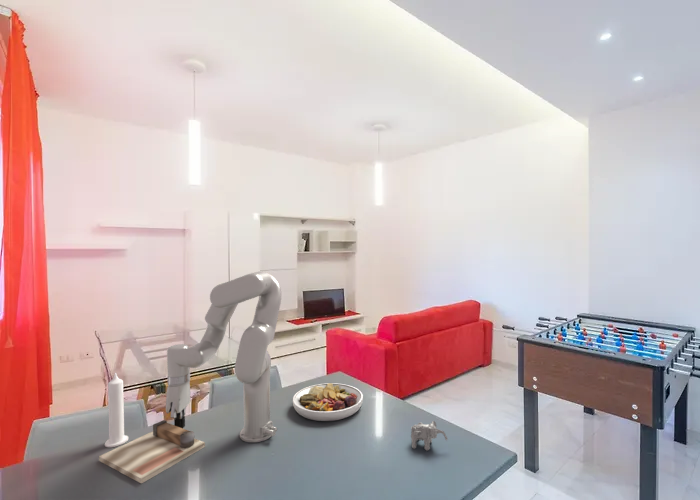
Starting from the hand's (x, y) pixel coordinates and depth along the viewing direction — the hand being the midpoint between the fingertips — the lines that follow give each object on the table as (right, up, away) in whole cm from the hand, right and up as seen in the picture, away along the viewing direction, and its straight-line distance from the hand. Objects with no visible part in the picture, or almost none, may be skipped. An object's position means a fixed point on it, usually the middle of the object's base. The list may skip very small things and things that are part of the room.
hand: (179, 427), depth 132 cm
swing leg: (+1, -1, -7) cm, 7 cm away
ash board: (-3, -2, -13) cm, 13 cm away
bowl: (+54, -2, +21) cm, 58 cm away
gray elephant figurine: (+91, -1, -11) cm, 91 cm away
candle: (-20, -3, -5) cm, 21 cm away
